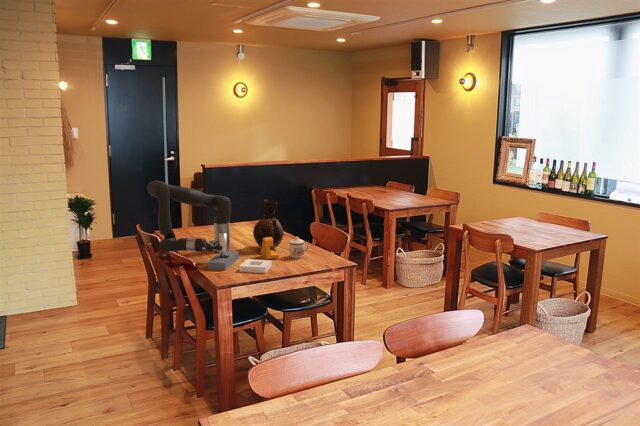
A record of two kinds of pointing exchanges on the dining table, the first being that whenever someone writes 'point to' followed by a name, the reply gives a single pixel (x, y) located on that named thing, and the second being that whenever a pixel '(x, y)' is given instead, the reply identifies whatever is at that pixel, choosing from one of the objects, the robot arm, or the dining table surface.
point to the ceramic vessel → (268, 226)
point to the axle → (223, 245)
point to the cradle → (255, 266)
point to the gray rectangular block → (222, 261)
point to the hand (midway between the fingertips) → (224, 246)
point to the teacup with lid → (297, 248)
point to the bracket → (268, 249)
